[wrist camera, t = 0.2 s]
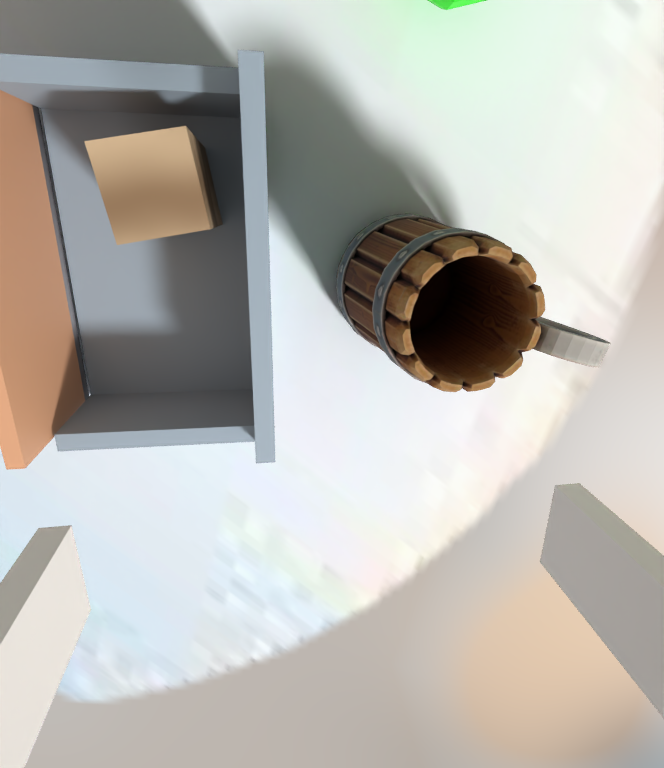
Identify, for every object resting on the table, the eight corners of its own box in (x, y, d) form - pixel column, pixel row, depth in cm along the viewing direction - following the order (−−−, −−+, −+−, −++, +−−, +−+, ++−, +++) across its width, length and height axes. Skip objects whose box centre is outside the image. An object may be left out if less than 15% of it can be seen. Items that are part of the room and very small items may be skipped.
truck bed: (47, 92, 31) (-66, 29, 20) (262, 103, 33) (263, 51, 22) (99, 401, 38) (37, 475, 28) (271, 395, 40) (275, 462, 30)
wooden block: (131, 159, 31) (84, 141, 23) (205, 147, 32) (185, 125, 23) (152, 236, 33) (117, 245, 25) (222, 224, 34) (210, 229, 25)
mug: (318, 327, 39) (351, 393, 25) (355, 196, 36) (415, 188, 22) (483, 367, 42) (593, 445, 28) (530, 251, 39) (678, 274, 25)
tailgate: (20, 102, 30) (-106, 46, 20) (40, 103, 30) (-74, 47, 20) (75, 397, 37) (4, 469, 27) (91, 396, 37) (27, 468, 27)
